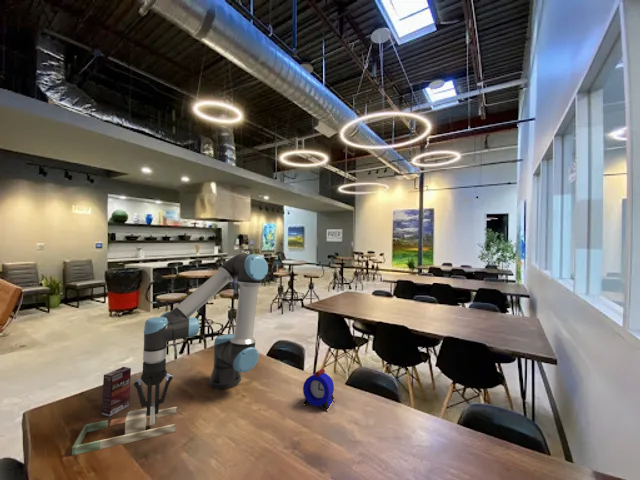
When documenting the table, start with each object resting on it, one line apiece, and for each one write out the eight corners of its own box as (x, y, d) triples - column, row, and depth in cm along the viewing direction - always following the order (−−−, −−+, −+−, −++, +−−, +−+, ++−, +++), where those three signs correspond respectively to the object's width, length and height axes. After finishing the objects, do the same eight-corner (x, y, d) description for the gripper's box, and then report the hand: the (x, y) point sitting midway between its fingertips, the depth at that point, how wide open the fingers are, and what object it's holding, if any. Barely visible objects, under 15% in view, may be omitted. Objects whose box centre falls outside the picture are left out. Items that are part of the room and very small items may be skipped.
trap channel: (176, 407, 120) (176, 401, 120) (175, 431, 104) (175, 425, 104) (88, 425, 107) (88, 418, 107) (71, 455, 92) (72, 447, 92)
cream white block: (146, 423, 108) (147, 408, 109) (144, 433, 103) (145, 416, 103) (127, 427, 106) (128, 411, 106) (124, 437, 100) (125, 420, 101)
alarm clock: (301, 406, 123) (302, 371, 123) (312, 392, 134) (313, 361, 135) (327, 413, 118) (328, 377, 119) (337, 398, 130) (337, 365, 130)
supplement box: (110, 417, 112) (111, 376, 112) (101, 414, 113) (102, 374, 114) (130, 405, 120) (131, 367, 121) (121, 403, 122) (123, 366, 122)
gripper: (174, 353, 113) (172, 413, 113) (135, 358, 108) (133, 421, 107) (173, 360, 107) (171, 424, 106) (132, 366, 101) (130, 433, 100)
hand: (152, 422), depth 107 cm, fingers closed
